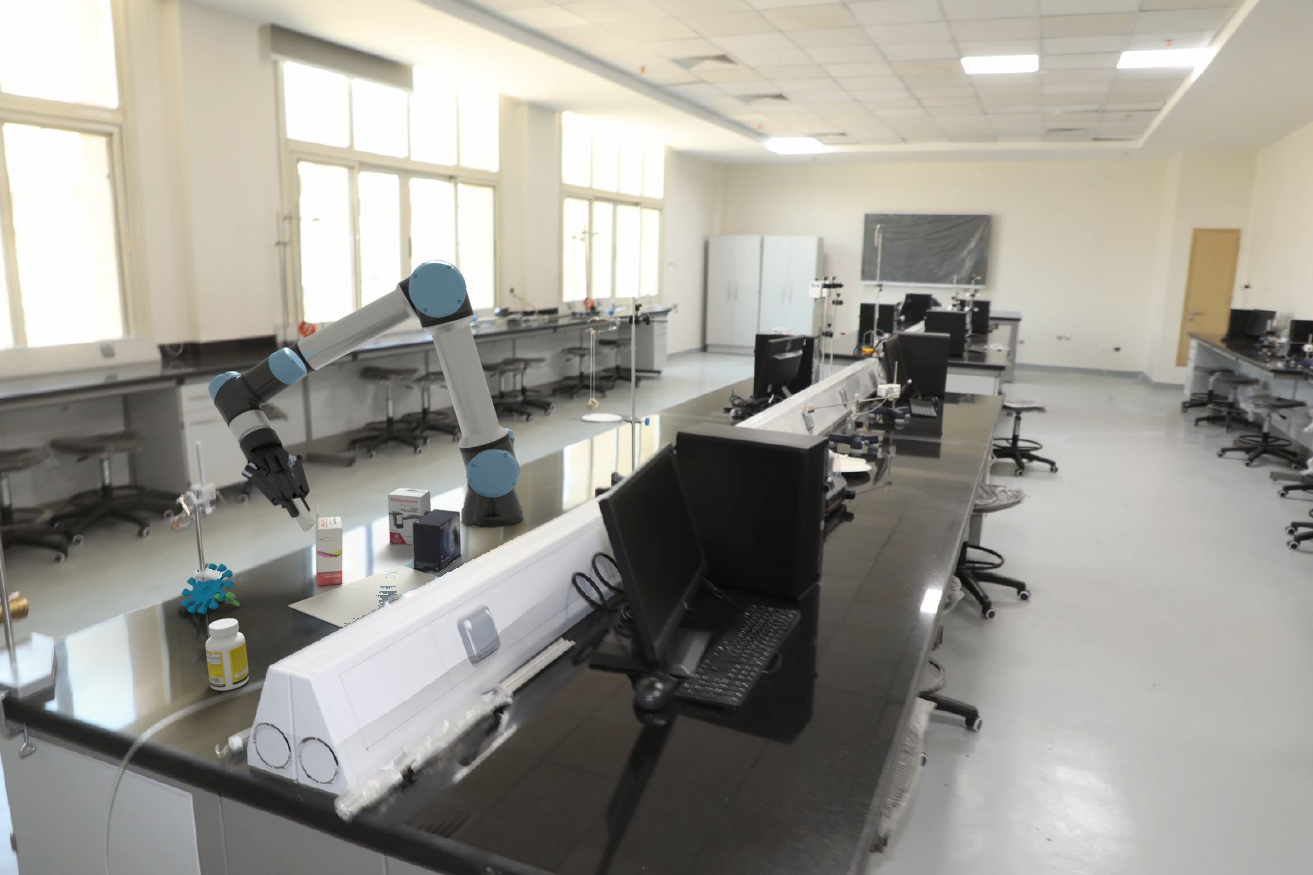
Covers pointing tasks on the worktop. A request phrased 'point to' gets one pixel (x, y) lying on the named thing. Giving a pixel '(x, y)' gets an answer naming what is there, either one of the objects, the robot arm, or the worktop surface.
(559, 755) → the worktop surface
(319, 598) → the mat
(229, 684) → the supplement bottle
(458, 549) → the small box
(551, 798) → the worktop surface
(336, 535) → the ink cartridge box
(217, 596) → the gear
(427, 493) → the ink box
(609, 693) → the worktop surface
